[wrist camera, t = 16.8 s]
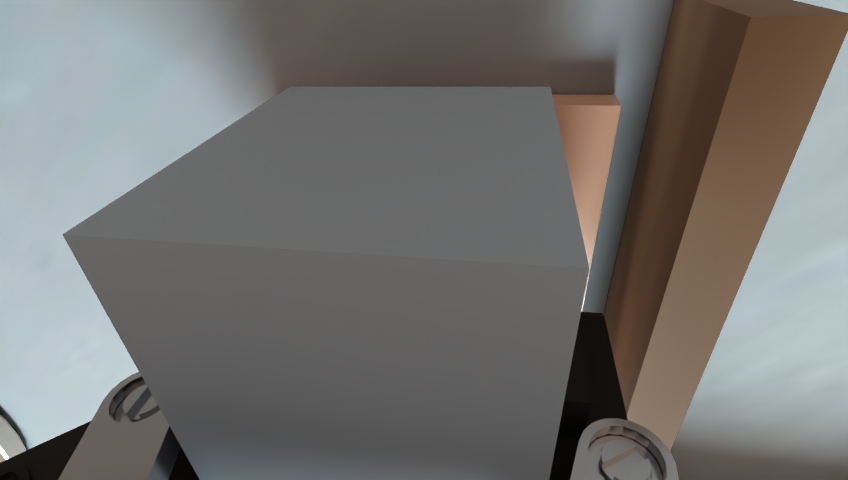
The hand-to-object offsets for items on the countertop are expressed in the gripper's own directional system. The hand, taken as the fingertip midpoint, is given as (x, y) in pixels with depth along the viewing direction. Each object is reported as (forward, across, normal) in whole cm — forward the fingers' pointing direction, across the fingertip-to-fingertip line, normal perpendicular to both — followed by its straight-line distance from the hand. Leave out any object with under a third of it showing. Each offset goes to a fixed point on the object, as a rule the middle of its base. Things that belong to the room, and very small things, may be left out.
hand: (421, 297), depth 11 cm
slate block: (+1, 0, -2) cm, 2 cm away
